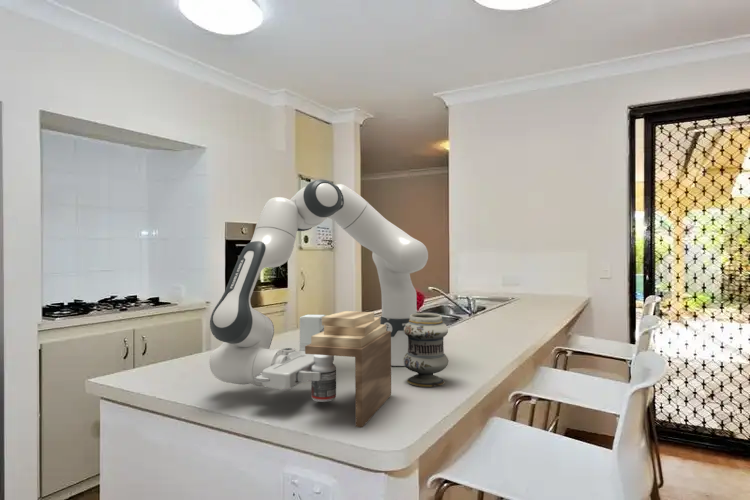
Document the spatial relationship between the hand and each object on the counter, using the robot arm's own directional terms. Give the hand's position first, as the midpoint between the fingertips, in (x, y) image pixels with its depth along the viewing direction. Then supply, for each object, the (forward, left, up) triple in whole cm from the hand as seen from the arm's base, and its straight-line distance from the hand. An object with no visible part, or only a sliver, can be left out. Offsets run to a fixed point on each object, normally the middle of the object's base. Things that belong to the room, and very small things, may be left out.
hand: (327, 372), depth 110 cm
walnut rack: (-2, +5, -7) cm, 9 cm away
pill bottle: (0, -1, -6) cm, 6 cm away
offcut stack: (-2, +5, +8) cm, 10 cm away
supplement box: (-36, -46, -8) cm, 59 cm away
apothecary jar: (-30, +6, -8) cm, 32 cm away
